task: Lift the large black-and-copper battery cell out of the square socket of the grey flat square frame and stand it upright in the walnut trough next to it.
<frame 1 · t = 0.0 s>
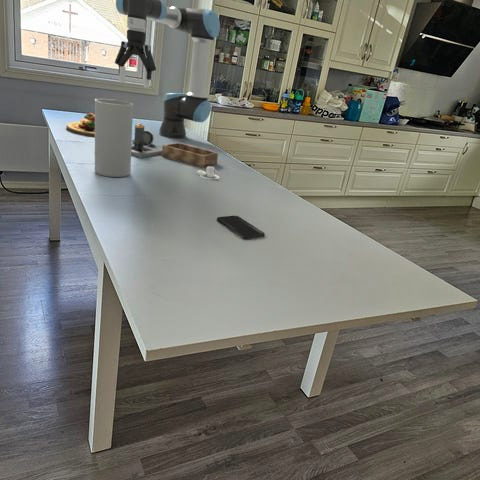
hand: (134, 85, 175), 28 cm above the table, tool pointing down, fingers open, 13 cm apart
cylinder vase: (112, 173, 149), on the table
teacup and saucer: (207, 175, 167), on the table
battery cell: (139, 138, 181), in the grey flat square frame
walnut trough: (189, 160, 184), on the table
wooden plate with food: (99, 132, 214), on the table
phone: (239, 229, 118), on the table
ceramic mug: (142, 144, 200), on the table
grey flat square frame: (138, 152, 184), on the table
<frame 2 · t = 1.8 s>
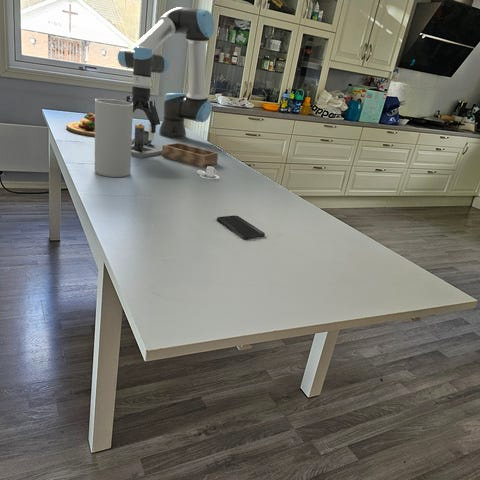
hand: (139, 137, 181), 7 cm above the table, tool pointing down, fingers open, 13 cm apart
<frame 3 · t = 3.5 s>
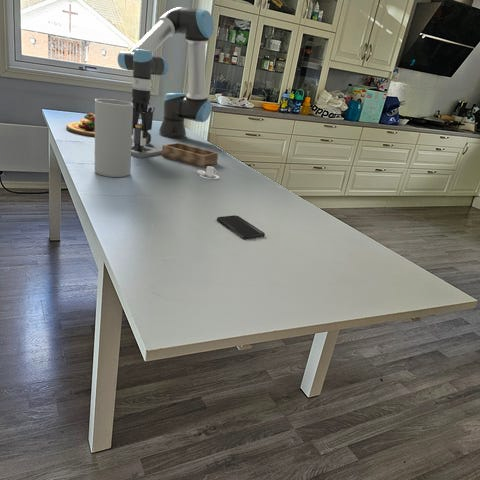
hand: (139, 144, 183), 4 cm above the table, tool pointing down, fingers closed on battery cell, 4 cm apart
battery cell: (139, 137, 181), in the grey flat square frame, touching gripper
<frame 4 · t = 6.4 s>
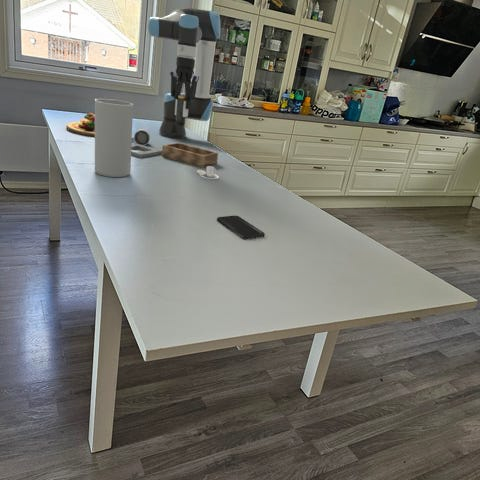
hand: (181, 115, 177), 19 cm above the table, tool pointing down, fingers closed on battery cell, 4 cm apart
battery cell: (181, 109, 176), point 21 cm above the table, touching gripper
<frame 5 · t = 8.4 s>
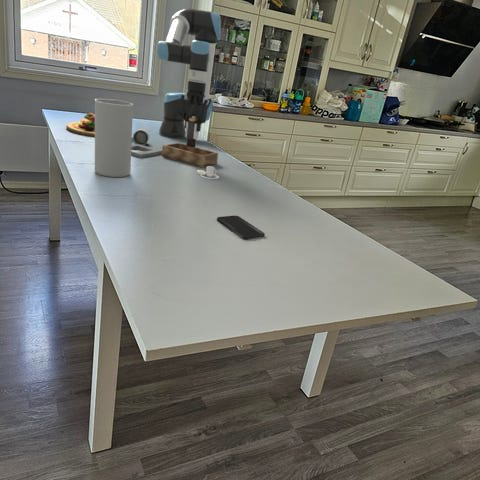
hand: (191, 137, 180), 10 cm above the table, tool pointing down, fingers closed on battery cell, 4 cm apart
battery cell: (192, 131, 179), point 13 cm above the table, touching gripper
when the fingers open (7 cm above the table, at t = 9.8 s): battery cell drops 2 cm, resting on walnut trough.
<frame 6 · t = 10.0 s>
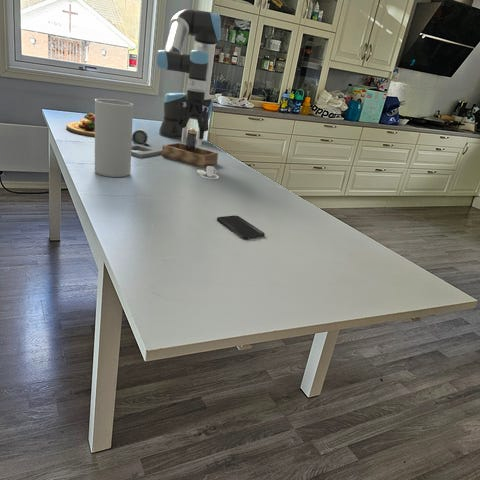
hand: (191, 144, 182), 7 cm above the table, tool pointing down, fingers open, 7 cm apart
battery cell: (190, 143, 182), in the walnut trough, point 8 cm above the table
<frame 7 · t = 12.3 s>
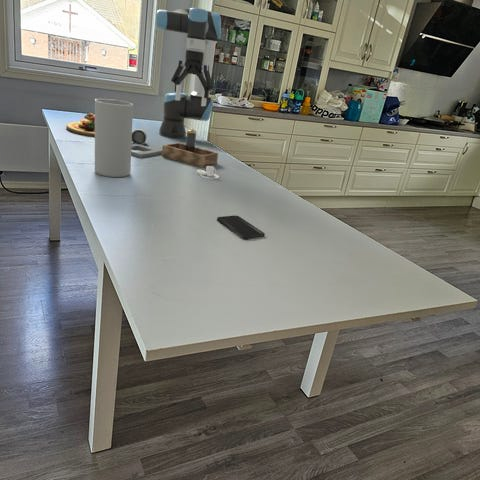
hand: (190, 103, 179), 24 cm above the table, tool pointing down, fingers open, 13 cm apart
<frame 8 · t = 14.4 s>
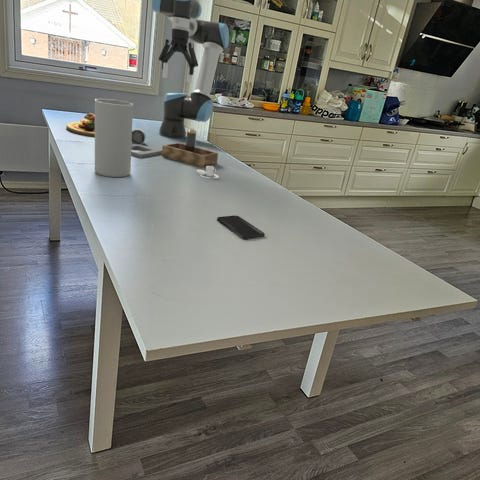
hand: (176, 80, 189), 32 cm above the table, tool pointing down, fingers open, 13 cm apart
at the end: battery cell inside the target area on the walnut trough (0.3 cm from its centre), point 7.4 cm above the walnut trough's base; battery cell tilted 1°; the gripper is holding nothing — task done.
